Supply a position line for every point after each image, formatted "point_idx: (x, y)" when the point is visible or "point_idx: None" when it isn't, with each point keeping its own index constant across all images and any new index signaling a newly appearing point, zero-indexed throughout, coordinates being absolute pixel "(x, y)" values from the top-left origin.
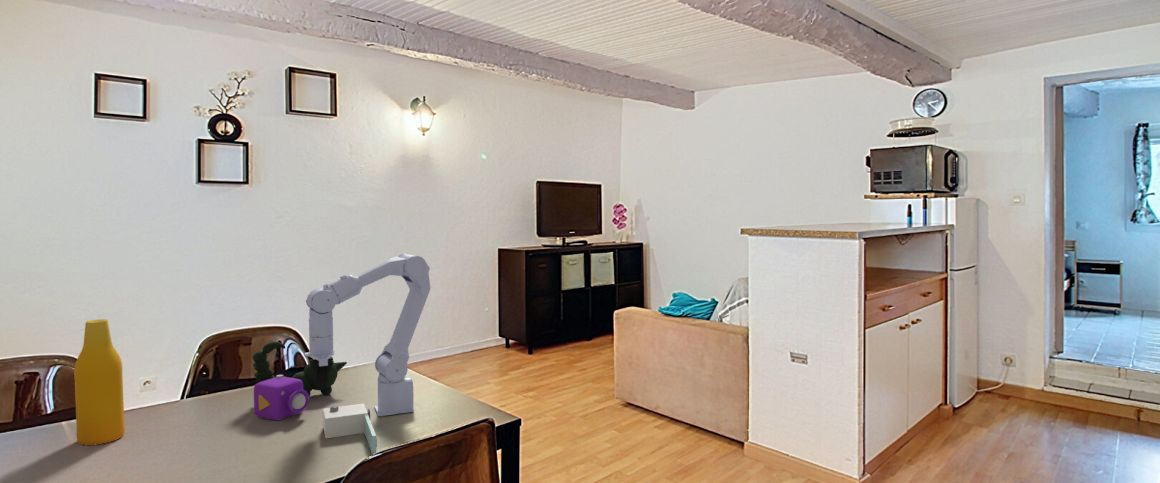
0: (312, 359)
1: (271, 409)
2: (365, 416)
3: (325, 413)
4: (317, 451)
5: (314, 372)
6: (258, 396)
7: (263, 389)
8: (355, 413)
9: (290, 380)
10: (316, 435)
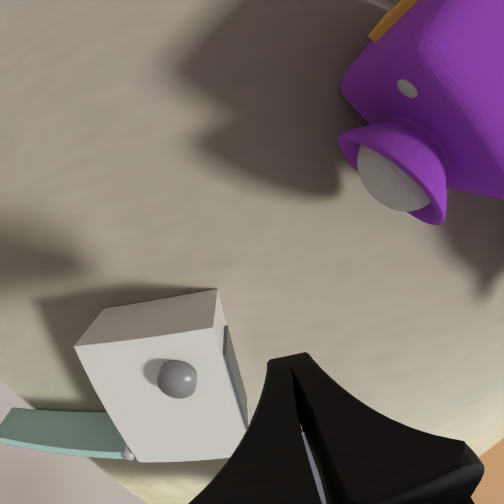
0: (474, 478)
1: (362, 54)
2: (112, 452)
3: (137, 344)
4: (17, 293)
5: (234, 451)
6: None
7: None
8: (132, 436)
9: None
10: (136, 274)
